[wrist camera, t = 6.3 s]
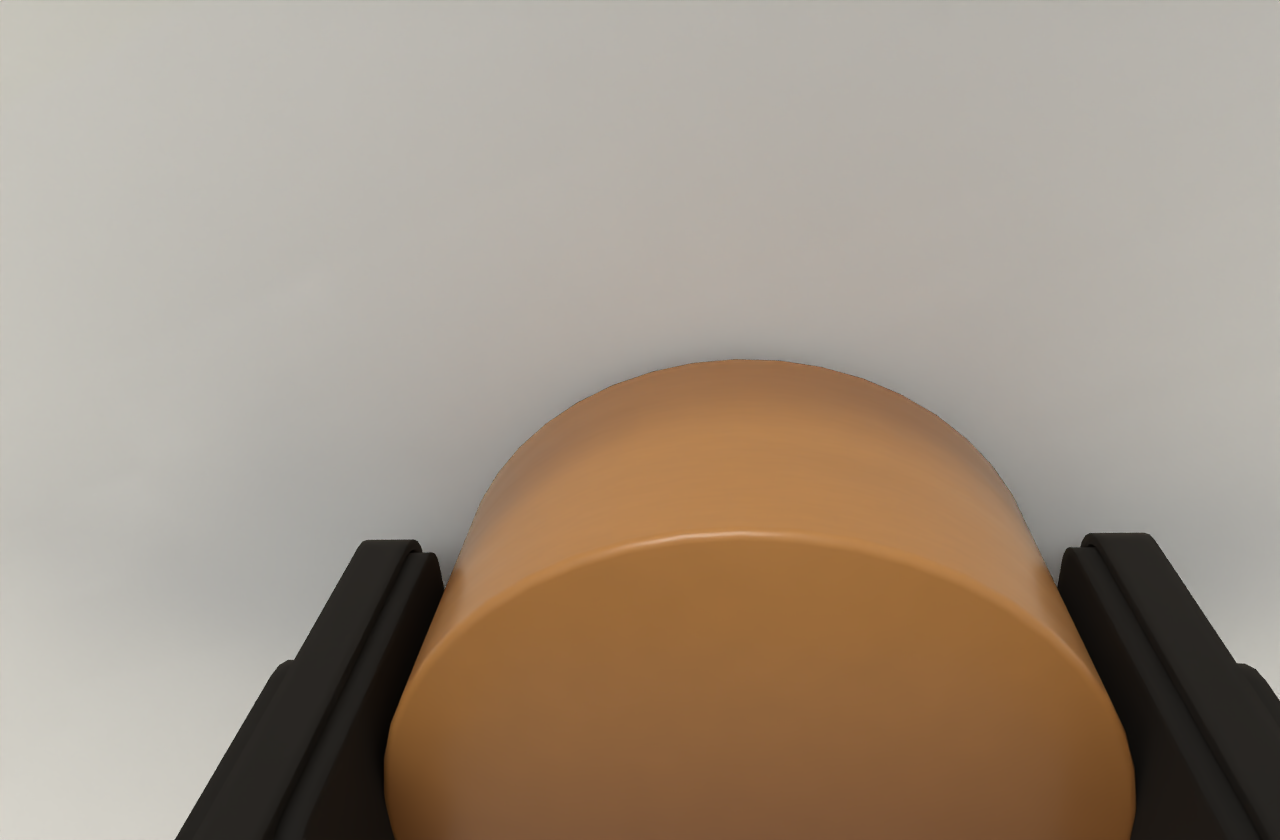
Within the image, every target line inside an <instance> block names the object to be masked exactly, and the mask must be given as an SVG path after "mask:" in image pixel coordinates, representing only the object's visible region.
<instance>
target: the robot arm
mask: <svg viewBox="0 0 1280 840" xmlns="http://www.w3.org/2000/svg"><path fill="white" fill-rule="evenodd" d="M1057 589H1058V591H1059V593H1060V595H1061V598H1062V600H1063V602H1064V604H1065V606H1066V608H1067V610H1068V612H1069V614H1070V616H1071V618H1072V620H1073V623H1074V625H1075V627H1076V629H1077V631H1078V633H1079V635H1080V637H1081V639H1082V641H1083V643H1084V645H1085V648H1086V650H1087V652H1088V654H1089V656H1090V658H1091V660H1092V662H1093V664H1094V666H1095V668H1096V670H1097V673H1098V675H1099V677H1100V679H1101V681H1102V683H1103V685H1104V687H1105V689H1106V691H1107V693H1108V695H1109V698H1110V700H1111V702H1112V704H1113V706H1114V708H1115V710H1116V712H1117V715H1118V717H1119V719H1120V721H1121V723H1122V725H1123V727H1124V729H1125V731H1126V735H1127V739H1128V743H1129V747H1130V751H1131V755H1132V759H1133V763H1134V767H1135V783H1136V814H1135V820H1134V824H1133V828H1132V833H1131V837H1130V840H1280V701H1279V699H1278V698H1277V696H1276V695H1275V693H1274V692H1273V690H1272V689H1271V687H1270V686H1269V685H1268V683H1267V682H1266V680H1265V679H1264V678H1263V677H1262V676H1261V675H1260V674H1259V673H1258V671H1257V670H1256V669H1254V668H1252V667H1250V666H1248V665H1246V664H1237V663H1236V661H1235V660H1234V658H1233V657H1232V655H1231V654H1230V652H1229V651H1228V649H1227V648H1226V646H1225V645H1224V643H1223V642H1222V640H1221V639H1220V637H1219V636H1218V634H1217V633H1216V631H1215V630H1214V628H1213V627H1212V625H1211V624H1210V622H1209V621H1208V619H1207V618H1206V616H1205V615H1204V613H1203V612H1202V610H1201V609H1200V607H1199V606H1198V604H1197V603H1196V601H1195V600H1194V598H1193V597H1192V595H1191V594H1190V592H1189V591H1188V589H1187V588H1186V586H1185V585H1184V583H1183V582H1182V580H1181V579H1180V577H1179V576H1178V574H1177V573H1176V571H1175V570H1174V568H1173V567H1172V565H1171V564H1170V562H1169V561H1168V559H1167V558H1166V556H1165V555H1164V553H1163V552H1162V550H1161V549H1160V547H1159V546H1158V544H1157V543H1156V541H1155V540H1154V539H1153V538H1152V537H1151V536H1150V535H1149V534H1146V533H1089V534H1087V535H1086V536H1085V537H1084V539H1083V541H1082V543H1081V547H1074V548H1068V549H1066V551H1065V552H1064V555H1063V559H1062V564H1061V569H1060V575H1059V581H1058V587H1057ZM443 593H444V586H443V581H442V576H441V571H440V566H439V562H438V558H437V557H436V555H435V554H434V553H423V552H422V549H421V546H420V545H419V543H418V541H416V540H366V541H363V542H362V543H361V544H360V546H359V547H358V548H357V550H356V552H355V554H354V555H353V557H352V559H351V561H350V563H349V564H348V566H347V568H346V570H345V571H344V573H343V575H342V577H341V578H340V580H339V582H338V584H337V585H336V587H335V589H334V591H333V592H332V594H331V596H330V598H329V599H328V601H327V603H326V605H325V607H324V608H323V610H322V612H321V614H320V615H319V617H318V619H317V621H316V622H315V624H314V626H313V628H312V629H311V631H310V633H309V635H308V636H307V638H306V640H305V642H304V644H303V645H302V647H301V649H300V651H299V652H298V654H297V656H296V658H295V659H294V660H287V661H285V662H284V663H282V664H280V665H279V666H278V667H277V669H276V670H275V671H274V673H273V674H272V675H271V677H270V678H269V680H268V682H267V683H266V685H265V687H264V689H263V690H262V692H261V694H260V695H259V697H258V699H257V700H256V702H255V704H254V706H253V707H252V709H251V711H250V712H249V714H248V716H247V718H246V719H245V721H244V723H243V724H242V726H241V728H240V729H239V731H238V733H237V735H236V736H235V738H234V740H233V741H232V743H231V745H230V747H229V748H228V750H227V752H226V753H225V755H224V757H223V758H222V760H221V762H220V764H219V765H218V767H217V769H216V770H215V772H214V774H213V776H212V777H211V779H210V781H209V782H208V784H207V786H206V787H205V789H204V791H203V793H202V794H201V796H200V798H199V799H198V801H197V803H196V805H195V806H194V808H193V810H192V811H191V813H190V815H189V817H188V818H187V820H186V822H185V823H184V825H183V827H182V828H181V830H180V832H179V834H178V835H177V837H176V839H175V840H395V838H394V835H393V831H392V828H391V824H390V820H389V816H388V812H387V808H386V803H385V797H384V755H385V749H386V744H387V739H388V734H389V729H390V724H391V721H392V719H393V716H394V714H395V711H396V709H397V706H398V704H399V701H400V699H401V696H402V694H403V691H404V689H405V686H406V684H407V681H408V679H409V677H410V674H411V672H412V669H413V667H414V664H415V662H416V659H417V657H418V654H419V652H420V650H421V647H422V645H423V642H424V640H425V637H426V635H427V632H428V630H429V627H430V625H431V622H432V620H433V618H434V615H435V613H436V610H437V608H438V605H439V603H440V600H441V598H442V595H443Z"/></svg>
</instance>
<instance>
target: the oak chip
mask: <svg viewBox="0 0 1280 840" xmlns="http://www.w3.org/2000/svg"><path fill="white" fill-rule="evenodd" d="M384 797H385V803H386V808H387V812H388V816H389V820H390V824H391V828H392V831H393V835H394V838H395V840H1130V837H1131V833H1132V828H1133V824H1134V820H1135V814H1136V783H1135V767H1134V763H1133V759H1132V755H1131V751H1130V747H1129V743H1128V739H1127V735H1126V731H1125V729H1124V727H1123V725H1122V723H1121V721H1120V719H1119V717H1118V715H1117V712H1116V710H1115V708H1114V706H1113V704H1112V702H1111V700H1110V698H1109V695H1108V693H1107V691H1106V689H1105V687H1104V685H1103V683H1102V681H1101V679H1100V677H1099V675H1098V673H1097V670H1096V668H1095V666H1094V664H1093V662H1092V660H1091V658H1090V656H1089V654H1088V652H1087V650H1086V648H1085V645H1084V643H1083V641H1082V639H1081V637H1080V635H1079V633H1078V631H1077V629H1076V627H1075V625H1074V623H1073V620H1072V618H1071V616H1070V614H1069V612H1068V610H1067V608H1066V606H1065V604H1064V602H1063V600H1062V598H1061V595H1060V593H1059V591H1058V589H1057V587H1056V585H1055V583H1054V581H1053V579H1052V577H1051V575H1050V573H1049V570H1048V568H1047V566H1046V564H1045V562H1044V560H1043V558H1042V556H1041V554H1040V552H1039V550H1038V548H1037V545H1036V543H1035V541H1034V539H1033V537H1032V535H1031V533H1030V531H1029V529H1028V527H1027V525H1026V523H1025V520H1024V518H1023V516H1022V514H1021V512H1020V510H1019V508H1018V506H1017V504H1016V502H1015V500H1014V498H1013V495H1012V494H1011V492H1010V491H1009V489H1008V488H1007V487H1006V485H1005V484H1004V482H1003V481H1002V479H1001V478H1000V476H999V475H998V473H997V472H996V471H995V469H994V468H993V466H992V465H991V464H990V463H989V462H988V461H987V460H986V459H985V458H984V457H983V456H982V454H981V453H980V452H979V451H978V450H977V449H976V448H975V447H974V446H973V445H972V444H971V443H970V442H969V441H968V440H967V439H966V438H965V437H964V436H962V435H961V434H960V433H959V432H957V431H956V430H955V429H953V428H952V427H951V426H950V425H948V424H947V423H946V422H945V421H943V420H942V419H941V418H939V417H938V416H937V415H935V414H934V413H932V412H930V411H928V410H927V409H925V408H923V407H922V406H920V405H918V404H916V403H915V402H913V401H911V400H910V399H908V398H906V397H904V396H903V395H901V394H898V393H896V392H894V391H891V390H889V389H886V388H884V387H882V386H879V385H877V384H875V383H872V382H870V381H867V380H865V379H862V378H859V377H855V376H851V375H848V374H844V373H841V372H837V371H834V370H830V369H826V368H823V367H818V366H811V365H805V364H798V363H791V362H785V361H775V360H744V359H733V360H722V361H710V362H699V363H691V364H686V365H682V366H677V367H672V368H667V369H663V370H658V371H653V372H650V373H647V374H644V375H641V376H638V377H635V378H633V379H630V380H627V381H624V382H621V383H618V384H615V385H612V386H610V387H608V388H606V389H604V390H602V391H600V392H598V393H596V394H594V395H592V396H590V397H588V398H586V399H584V400H582V401H580V402H578V403H576V404H575V405H573V406H572V407H570V408H569V409H567V410H566V411H564V412H563V413H561V414H560V415H558V416H557V417H555V418H554V419H552V420H551V421H549V422H548V423H546V424H545V425H544V426H543V427H542V428H541V429H540V430H538V431H537V432H536V433H535V434H534V435H533V436H532V437H531V438H529V439H528V440H527V441H526V442H525V443H524V444H523V445H522V446H521V447H519V449H518V450H517V451H516V452H515V453H514V455H513V456H512V457H511V458H510V459H509V461H508V462H507V463H506V464H505V465H504V467H503V468H502V469H501V470H500V471H499V473H498V474H497V475H496V477H495V479H494V480H493V482H492V484H491V485H490V487H489V489H488V490H487V492H486V494H485V495H484V497H483V499H482V500H481V502H480V505H479V507H478V509H477V512H476V514H475V517H474V519H473V522H472V524H471V527H470V529H469V532H468V534H467V536H466V539H465V541H464V544H463V546H462V549H461V551H460V554H459V556H458V559H457V561H456V564H455V566H454V568H453V571H452V573H451V576H450V578H449V581H448V583H447V586H446V588H445V591H444V593H443V595H442V598H441V600H440V603H439V605H438V608H437V610H436V613H435V615H434V618H433V620H432V622H431V625H430V627H429V630H428V632H427V635H426V637H425V640H424V642H423V645H422V647H421V650H420V652H419V654H418V657H417V659H416V662H415V664H414V667H413V669H412V672H411V674H410V677H409V679H408V681H407V684H406V686H405V689H404V691H403V694H402V696H401V699H400V701H399V704H398V706H397V709H396V711H395V714H394V716H393V719H392V721H391V724H390V729H389V734H388V739H387V744H386V749H385V755H384Z"/></svg>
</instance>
